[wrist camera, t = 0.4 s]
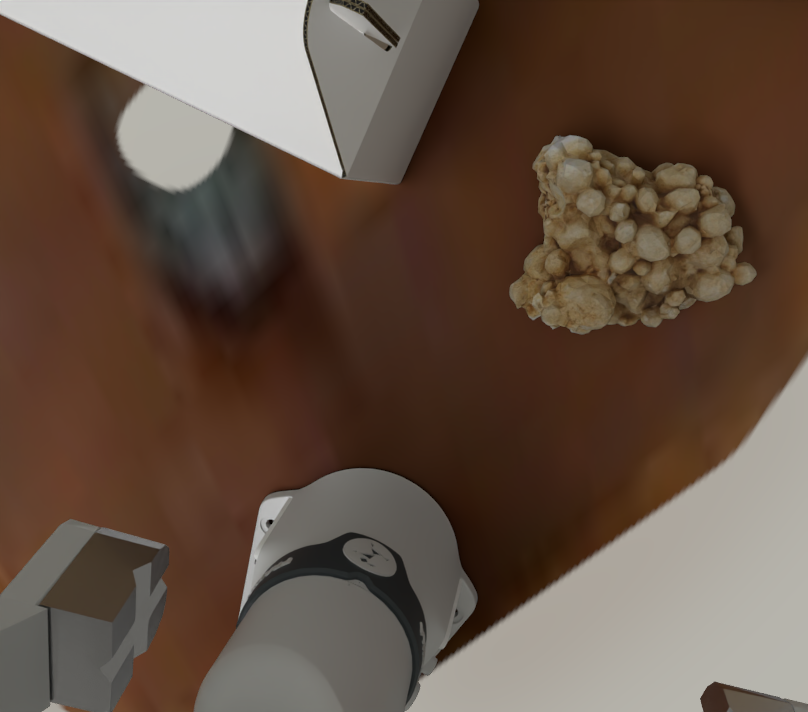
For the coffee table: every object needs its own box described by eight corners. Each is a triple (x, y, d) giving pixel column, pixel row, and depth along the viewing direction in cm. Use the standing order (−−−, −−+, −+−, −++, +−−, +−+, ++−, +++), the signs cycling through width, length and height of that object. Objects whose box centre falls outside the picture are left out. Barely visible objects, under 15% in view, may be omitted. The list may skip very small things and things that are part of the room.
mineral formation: (540, 124, 51) (770, 153, 49) (510, 308, 56) (717, 343, 54) (531, 134, 44) (802, 169, 41) (497, 344, 49) (736, 387, 46)
